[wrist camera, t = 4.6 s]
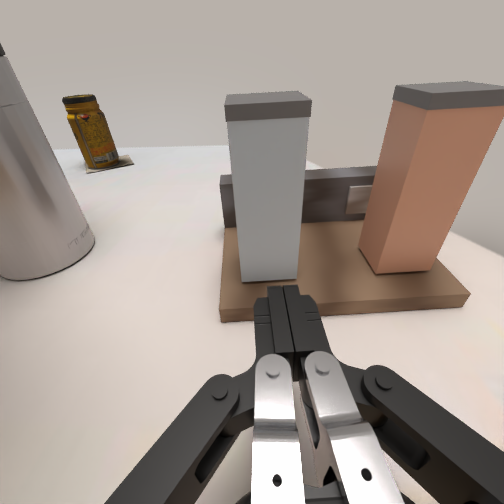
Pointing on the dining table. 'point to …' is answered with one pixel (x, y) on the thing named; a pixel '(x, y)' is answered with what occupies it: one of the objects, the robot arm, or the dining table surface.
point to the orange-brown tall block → (426, 170)
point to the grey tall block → (268, 179)
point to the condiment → (92, 133)
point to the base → (334, 256)
